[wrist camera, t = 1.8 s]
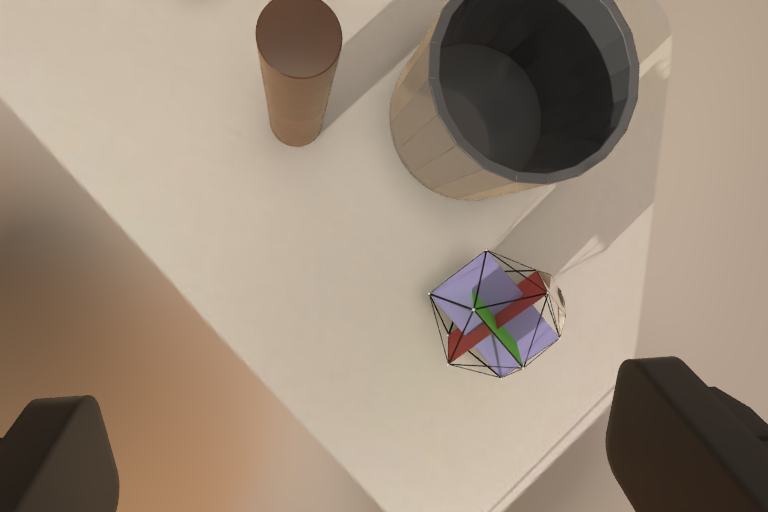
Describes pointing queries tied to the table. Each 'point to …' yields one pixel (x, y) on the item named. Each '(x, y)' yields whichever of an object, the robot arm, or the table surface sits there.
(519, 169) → the tin
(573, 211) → the table surface
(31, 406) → the robot arm
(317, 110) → the cylinder
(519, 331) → the geometric puzzle
